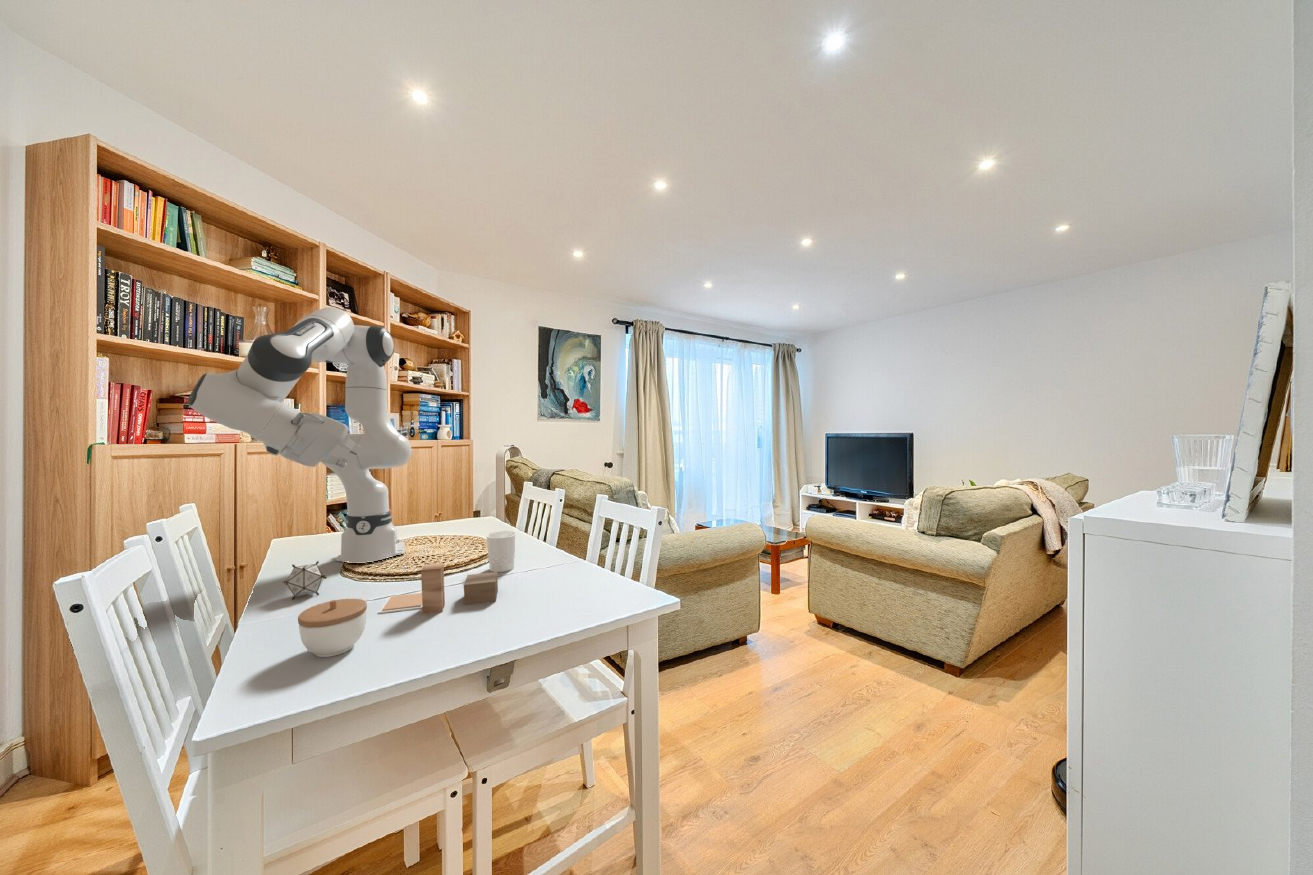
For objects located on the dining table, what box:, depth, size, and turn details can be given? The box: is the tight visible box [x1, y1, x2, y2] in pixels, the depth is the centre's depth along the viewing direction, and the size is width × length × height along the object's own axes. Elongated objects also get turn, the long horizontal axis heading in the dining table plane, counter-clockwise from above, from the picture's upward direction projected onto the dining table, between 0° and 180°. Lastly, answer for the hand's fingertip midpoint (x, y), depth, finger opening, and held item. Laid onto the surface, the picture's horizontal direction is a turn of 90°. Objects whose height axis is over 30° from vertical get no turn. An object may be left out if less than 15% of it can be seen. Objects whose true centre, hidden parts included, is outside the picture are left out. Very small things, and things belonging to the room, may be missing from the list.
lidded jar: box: [297, 598, 368, 658], centre depth 88 cm, size 11×11×9 cm
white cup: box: [486, 530, 516, 573], centre depth 133 cm, size 8×8×10 cm
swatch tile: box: [378, 592, 422, 614], centre depth 109 cm, size 9×9×1 cm
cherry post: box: [420, 562, 446, 615], centre depth 106 cm, size 4×4×10 cm
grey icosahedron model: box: [281, 560, 328, 601], centre depth 115 cm, size 9×8×10 cm
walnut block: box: [463, 571, 499, 606], centre depth 112 cm, size 7×7×5 cm
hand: (352, 458), depth 107 cm, fingers open, 8 cm apart
